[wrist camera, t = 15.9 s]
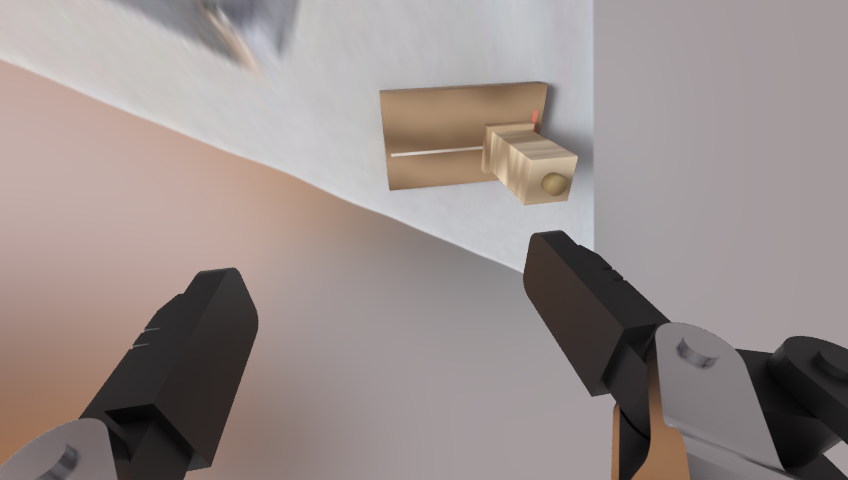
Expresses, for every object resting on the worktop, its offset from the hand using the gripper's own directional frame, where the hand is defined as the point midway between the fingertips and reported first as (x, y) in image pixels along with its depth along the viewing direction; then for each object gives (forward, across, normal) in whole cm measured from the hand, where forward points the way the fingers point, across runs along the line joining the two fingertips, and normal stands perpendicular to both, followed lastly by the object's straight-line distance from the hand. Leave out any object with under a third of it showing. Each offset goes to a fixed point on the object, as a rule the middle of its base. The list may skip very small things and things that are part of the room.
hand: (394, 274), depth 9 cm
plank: (+28, -10, +4) cm, 30 cm away
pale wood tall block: (+26, -14, +5) cm, 30 cm away
